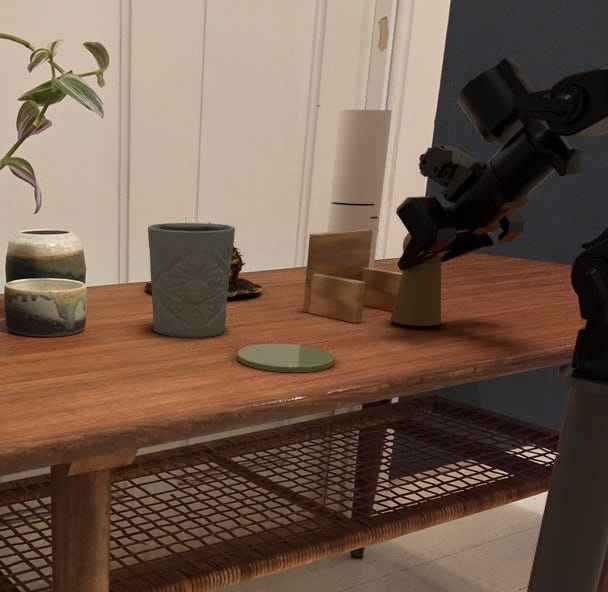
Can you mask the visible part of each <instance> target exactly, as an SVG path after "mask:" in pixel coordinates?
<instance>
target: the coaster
mask: <svg viewBox="0 0 608 592" xmlns="http://www.w3.org/2000/svg"><path fill="white" fill-rule="evenodd" d="M236 359H237V361H238V362H239V363H240V364H243V365H245V366H247V367H250V368H254V369H256V370H257V369H258V370H261V371H268V372H277V373H292V374H293V373H313V372H318V371H319V372H320V371H323V370H327V369H329V368H331V367H332V366H333V365H334V359H335V357H334V355H333V354H331V353H330V352H329V351H326V350H324V349H321V348H317V347H312V346H308V345H302V344H292V343H291V344H290V343H259V344H252V345H247V346H243V347H241V348H240V349H238V351H237V352H236Z"/></svg>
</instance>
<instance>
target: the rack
mask: <svg viewBox="0 0 608 592" xmlns="http://www.w3.org/2000/svg"><path fill="white" fill-rule="evenodd" d="M372 232H373V230H370V229H360V230H349V231H338V232H328V231H326V232H316V233H309V238H308V239H309V240H308V250H307V260H306V261H307V262H306V272H305V281H304V282H305V283H304V294H303V304H302V305H303V306H302V313H303V312H304V313H307V314H312V315H318V316H322V317H326V318H331V319H335V320H340V321H344V322H347V323H348V322H350V323H353V324H356V323H357V324H358V323H361V322H362V314H363V307H368V308H374V309H378V310H383V311H387V312H393V308H394V305H395V301H396V297H397V293H398V289H399V285H400V281H401V277H402V273H403V272H401V271H393V270H387V269H381V268H380V269H379V268H376V267H375V268H369V258H370V250H371V241H372Z"/></svg>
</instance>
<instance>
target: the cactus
mask: <svg viewBox="0 0 608 592" xmlns="http://www.w3.org/2000/svg"><path fill="white" fill-rule="evenodd" d="M208 224H212V222H210V221H209V222H208ZM242 257H244V255H243V254H241V251H239V248H238V247H236V246H235V245H233V253H232V259H231V266H230V277H229V289H228V296H227V298H232V297H236V296H237V297H238V296H243V295H251V294H255V293H256V294H257V293H260V292H261V291H262V290H263V286H262V285H260V284H259V283H254V282H252V281H251V280H248V279H246V278H243V277H239V275H240V272H242V269H243V266H245V265H246V264H247V263H246V262H243V259H242ZM144 289H146V290H147V291H148V290H149V292H151V293H152V283H151V282H146V284H145V285H144Z"/></svg>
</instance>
